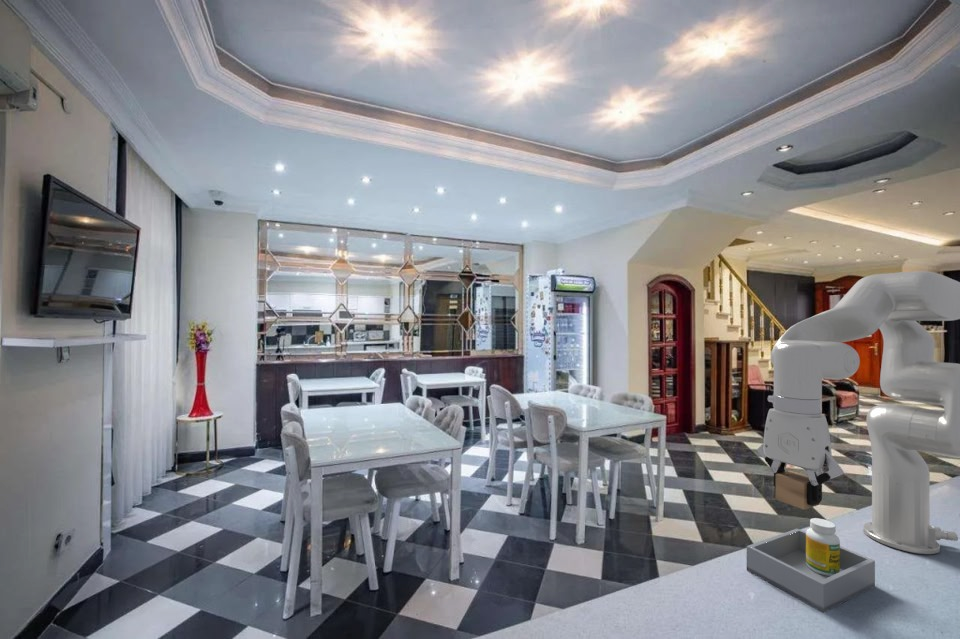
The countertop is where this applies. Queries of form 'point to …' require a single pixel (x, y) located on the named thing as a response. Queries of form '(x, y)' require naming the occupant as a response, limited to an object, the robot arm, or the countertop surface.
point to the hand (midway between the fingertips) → (797, 497)
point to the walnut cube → (792, 489)
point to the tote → (809, 571)
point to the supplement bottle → (822, 547)
